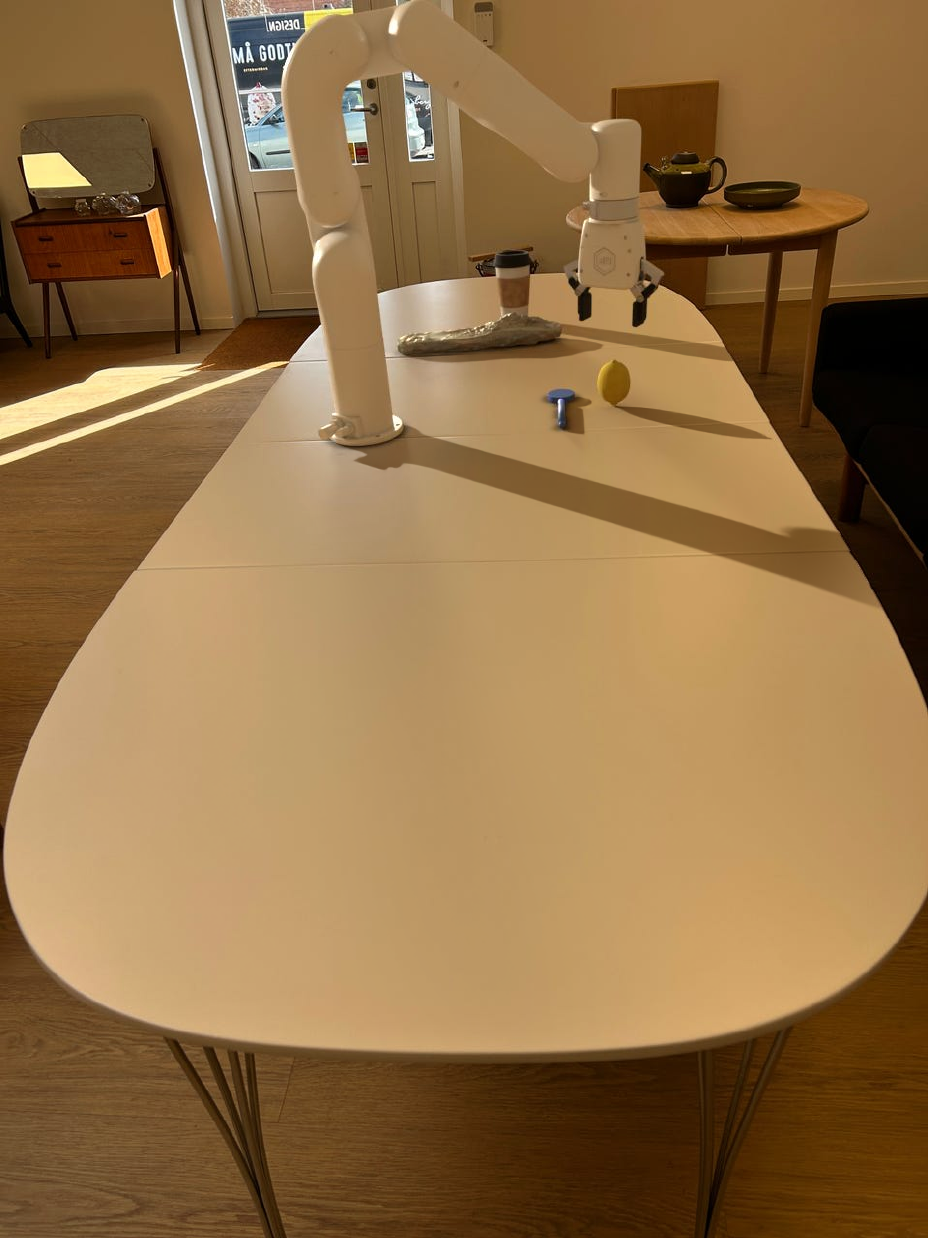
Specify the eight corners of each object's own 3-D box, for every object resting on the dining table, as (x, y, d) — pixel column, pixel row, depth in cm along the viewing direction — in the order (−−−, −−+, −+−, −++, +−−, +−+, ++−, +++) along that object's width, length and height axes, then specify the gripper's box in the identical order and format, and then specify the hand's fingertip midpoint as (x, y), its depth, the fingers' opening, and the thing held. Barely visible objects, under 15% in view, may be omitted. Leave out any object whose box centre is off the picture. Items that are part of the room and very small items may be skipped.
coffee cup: (492, 325, 210) (488, 255, 202) (502, 315, 217) (498, 247, 209) (528, 325, 208) (525, 255, 200) (537, 315, 214) (534, 246, 206)
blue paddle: (576, 428, 153) (576, 421, 152) (547, 430, 154) (547, 423, 153) (574, 393, 168) (574, 386, 167) (547, 394, 168) (547, 388, 168)
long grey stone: (399, 351, 203) (399, 367, 195) (395, 327, 200) (394, 343, 192) (559, 328, 202) (565, 343, 194) (557, 303, 199) (563, 318, 191)
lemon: (629, 399, 163) (629, 353, 159) (630, 410, 158) (631, 363, 154) (597, 400, 164) (597, 355, 159) (598, 411, 159) (597, 365, 155)
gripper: (553, 211, 146) (554, 322, 155) (655, 216, 137) (650, 333, 146) (576, 203, 151) (575, 311, 160) (676, 207, 142) (669, 321, 151)
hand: (611, 322), depth 153 cm, fingers open, 9 cm apart
